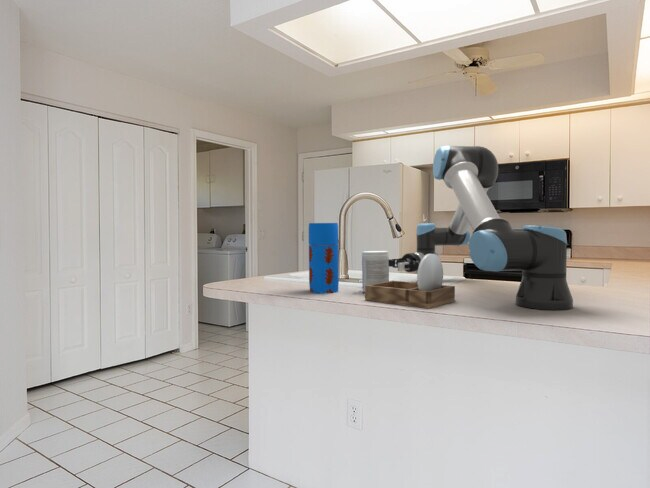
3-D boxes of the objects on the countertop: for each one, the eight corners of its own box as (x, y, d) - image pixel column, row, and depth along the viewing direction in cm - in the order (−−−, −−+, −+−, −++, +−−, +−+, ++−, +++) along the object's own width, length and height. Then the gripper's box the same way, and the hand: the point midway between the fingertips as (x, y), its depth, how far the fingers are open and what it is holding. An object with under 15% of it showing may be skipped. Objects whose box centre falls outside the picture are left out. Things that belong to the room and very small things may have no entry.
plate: (443, 296, 142) (443, 252, 141) (420, 302, 132) (420, 255, 131) (439, 296, 143) (439, 252, 142) (417, 302, 132) (417, 254, 132)
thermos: (316, 294, 157) (315, 223, 156) (304, 290, 167) (304, 223, 166) (343, 292, 162) (343, 222, 161) (331, 288, 171) (330, 223, 170)
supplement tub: (394, 292, 160) (394, 251, 159) (374, 294, 154) (373, 252, 154) (377, 289, 168) (376, 250, 167) (356, 291, 162) (356, 251, 162)
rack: (454, 301, 140) (454, 286, 140) (429, 308, 129) (429, 292, 128) (393, 293, 156) (393, 280, 156) (365, 299, 144) (365, 285, 144)
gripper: (441, 273, 172) (412, 278, 157) (387, 269, 189) (356, 274, 173) (441, 254, 172) (412, 257, 156) (387, 251, 189) (356, 254, 173)
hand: (382, 266), depth 165 cm, fingers open, 13 cm apart
